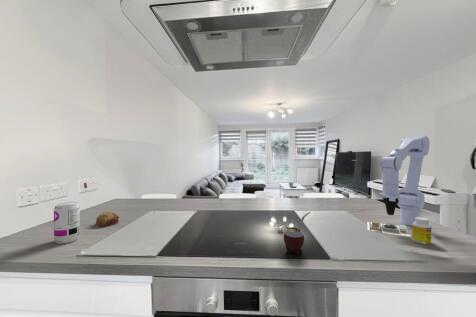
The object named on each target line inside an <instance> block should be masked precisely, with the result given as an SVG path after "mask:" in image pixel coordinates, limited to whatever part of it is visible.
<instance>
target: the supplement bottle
mask: <svg viewBox="0 0 476 317" xmlns="http://www.w3.org/2000/svg"><path fill="white" fill-rule="evenodd" d="M429 221H430V219H428V218H426V217H421V216H419V217H416V218H415V222H413V223H412V226H411V228H412V229H411V240H412V241H413V242H415V243H418V244H420V245H421V244H422V245H431V244H432V225H431V224H430V222H429Z"/></svg>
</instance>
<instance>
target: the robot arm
mask: <svg viewBox="0 0 476 317" xmlns="http://www.w3.org/2000/svg"><path fill="white" fill-rule="evenodd" d="M430 146H431V143H430V139H429V136H426V135H424V136H413V137H411V136H408V137H405V136H404V137H402V138H401V139H400V146H399V147H395V148H394V149H393V150H392V151H391V152H390V153H389V154H388V155H387V156H384V157H382V158H380V160H379V161H380V162H379V167H380V172H381V174H382V192H379V195H380V196H383V197H382V201H383V202H384V205H385V211H386V214H387V215H388V216H394V215H395V211H396V208H397V206H398V208H399V215H400V217H399V219H400V220H399V224H401V225H406V226H411V227H412V223H413V222H415V218H416V217H420V210H422V209H423V208H424V207H425V203H426V202H425V193H423V192H422V191H421V190H420V189H419V184H420V178H421V172H422V167H423V162H424V161H423V160H424V157H425V156H427V155H428V153H429V150H430ZM408 156H409V162H408V167H407V168H408V169H407V173H406V179H405V185H404V187H402V188H399V187H400V186H399V183H400V182H399V181H400V180H399V179H400V177H399V176H400V172H399V171H400V170H401V168H402V167H403V166H402V165H403V162H404V160H406V158H407V157H408Z"/></svg>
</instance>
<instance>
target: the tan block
mask: <svg viewBox="0 0 476 317" xmlns="http://www.w3.org/2000/svg"><path fill="white" fill-rule="evenodd" d="M371 222H372V229H375V230H379V223H380V222H379V221H378V220H372V221H371Z"/></svg>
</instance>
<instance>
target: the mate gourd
mask: <svg viewBox="0 0 476 317" xmlns="http://www.w3.org/2000/svg"><path fill="white" fill-rule="evenodd" d="M310 213H311V211H309V212H307V213H305V214H304V215H303V216H302V217H301V220H300V222H299V225H298V227H287V228H286V229H285V230H284V233H283V242H284V244H285V249H286V251H285V254H287V255H289V254H295V256H297V257H300V256H301V254H300V252H302V247H303V246H304V242H305V236H304V232H303V231H302V229H301V227H302V224H303V221H305V218H306V217H307V216H308V215H309V214H310Z"/></svg>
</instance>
